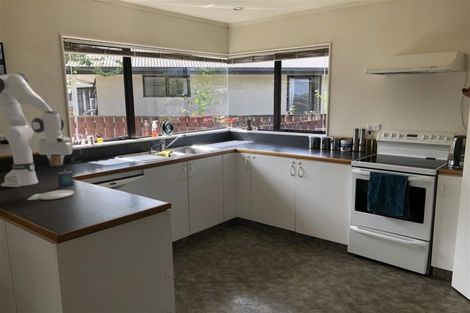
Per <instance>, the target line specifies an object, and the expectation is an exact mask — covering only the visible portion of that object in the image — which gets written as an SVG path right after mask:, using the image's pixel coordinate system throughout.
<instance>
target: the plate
mask: <svg viewBox="0 0 470 313" xmlns="http://www.w3.org/2000/svg"><path fill="white" fill-rule="evenodd" d="M40 194H41V195H39V198H40V199H39V200H55V199H56V200H57V199H62V198H63V199H64V198H67V197H70V196H73V195H74V194H75V192H74V190H73V189H62V190H60V189H59V190H54V191H47V192H44V193H40Z"/></svg>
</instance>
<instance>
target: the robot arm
mask: <svg viewBox="0 0 470 313" xmlns="http://www.w3.org/2000/svg"><path fill="white" fill-rule="evenodd" d="M22 105H23V106H28V107H31V108H35V109H37V110H38V111H41V113H42V114H41V115H40V116H37V117H35V118H33V119H32V121H31V126H30V123H29V122H28V120H27V118H26V117H25V114H24V112H23V109H22ZM0 109H1V113H2V116H3V118H4V120H5V121H6V122H7V123H8V125H9V126H10V127H8V128H7V129H6V130H5V132H4V137H5V139H6V141H7V142H8V144H9V147H10V149H11V152H12V159H13V164H11V165H10V168H12V169H11V170H10V171H9V172H8V173H7V174H6V175H4V182H3V183H1V184H0V186H1V187H10V188H11V187H12V188H19V187H24V186H31V185H35V184H38V183H39V180H38V177H37V174H36V170H35V166H36V165H35V162H34V159H33V158H34V157H33V150H32V149H31V147H30V144H29V141H30V139H32V138H33V136H34V132H35V133H37V134H45V138H41V139H39V140H38V154H39V155H41V156H42V155H45V156H46V158H47V159H48V160H49V157H52V156H53V155H54V156H60V157H61V158H60V159H59V162H63V163H64V158H65V156H69V155H70V156H71V155H72V154H73V145H72V143H71V137H69V136H65V135H63V132H62V131H63V129H64V128H65V122H64V120H63V118H62V117H61V116H60V113H59V112H57V111H54V109H53V108H52V107H51V106H50V104H49V103H48V102H47V101H46V100H45V99H44V98H43V97H42V96H40V95H39V94H38V93H36V91H34V90H33V89H32V87H31V85H30V84H29V80H28V77H27V76H26V75H25V73H19V72H18V73H7V74H1V75H0ZM49 163H50V160H49Z"/></svg>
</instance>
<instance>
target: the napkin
mask: <svg viewBox="0 0 470 313" xmlns="http://www.w3.org/2000/svg"><path fill="white" fill-rule="evenodd" d="M41 194H42V193H34V194H33V195H32V196H29V198H27V199H26V200H27V201H33V200H35V201H36V200H41V199H40V198H39V195H41Z"/></svg>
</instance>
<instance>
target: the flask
mask: <svg viewBox="0 0 470 313" xmlns="http://www.w3.org/2000/svg"><path fill="white" fill-rule="evenodd" d="M57 182H58V187H59V188H60V189H61V188H67V187H71V186H74V180H73V171H72V170H70V171H67V169H64V170H63V171H61V172H59V173H57Z"/></svg>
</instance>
